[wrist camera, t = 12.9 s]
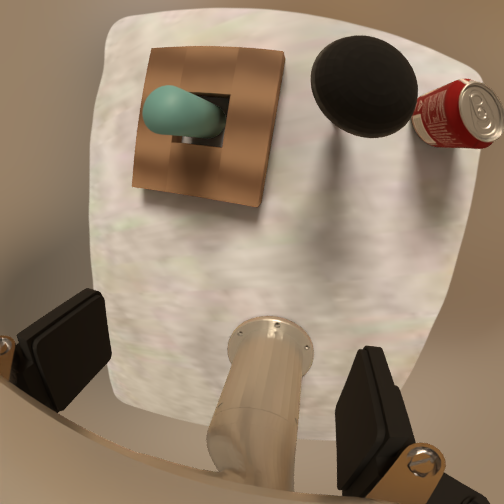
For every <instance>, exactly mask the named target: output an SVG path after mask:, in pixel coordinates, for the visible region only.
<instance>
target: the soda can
mask: <svg viewBox="0 0 504 504" xmlns="http://www.w3.org/2000/svg"><path fill="white" fill-rule="evenodd" d="M411 119H412V124H413V127H414V129H415V131H416V133H417V134H418V136H419V137H420V138H421V139H422V140H423V141H424V142H425V143H427V144H429V145H431V146H433V147H445V148H473V149H482V148H486V147H488V146H490V145H491V144H492V143H493V142H494V141H496V140H497V139H499V137H500V136H501V135H502V133H503V130H504V109H503V106H502V103H501V101H500V99H499V98H498V96H497V95H496V93H495V92H494V91H493V90H492V89H491V88H490V87H488V86H487V85H485V84H483V83H480V82H476V81H474V80H471V79H459V80H456V81H454V82H452V83H449V84H447V85H444V86H442V87H440V88H437V89H435V90H433V91H430V92H428V93H426V94H424V95H422V96H420V97H419V98H417V104H416V108H415V110H414V113H413V115H412V117H411Z"/></svg>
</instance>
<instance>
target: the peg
mask: <svg viewBox="0 0 504 504" xmlns="http://www.w3.org/2000/svg"><path fill="white" fill-rule="evenodd" d="M142 114H143V120H144V123H145V125H146V126H147V128H148V129H149V130H150V131H152V132H154V133H156V134H161V135H174V136H186V137H197V138H207V139H208V138H213V137H216V136H217V135H219V134H220V133H221V132H222V131H223V129H224V127H225V124H226V116H225V113H224V111H223V110H222V109H221V108H220V107H219V106H217V105H215V104H213V103H211V102H209V101H207V100H204V99H202V98H200V97H198V96H196V95H194V94H192V93H189V92H187V91H185V90H183V89H181V88H178V87H176V86H172V85H165V86H161V87H159V88H157V89H155V90H154V91H153V92H151V94H150V95H149V96H148V97H147V99H146V101H145V103H144V106H143V112H142Z"/></svg>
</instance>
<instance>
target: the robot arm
mask: <svg viewBox="0 0 504 504" xmlns="http://www.w3.org/2000/svg"><path fill="white" fill-rule="evenodd" d="M17 338H18V341H19V343H18V344H17V345H16V343H15V341H14V339H13V338H11V337H9V336H4V335H1V336H0V504H490V503H489V501H488V500H487V498H486V497H484V496H483V495H482V494H480V493H478V492H476V491H474V490H473V489H471V488H469V487H468V486H466V485H464V484H462V483H461V482H459V481H457V480H456V479H454V478H452V477H451V476H449V475H447V474H446V473H444V470H445V467H446V462H445V458H444V456H443V454H442V453H441V452H440V450H439V449H437V448H436V447H434V446H433V445H430V444H428V443H415V439H414V435H413V432H412V428H411V425H410V421H409V418H408V414H407V411H406V408H405V405H404V401H403V398H402V395H401V392H400V389H399V387H398V386H395V385H394V382H393V379H392V376H391V373H390V370H389V367H388V364H387V361H386V358H385V355H384V352H383V349H382V348H381V347H374V346H365V347H364V348H363V350H362V349H359V350H358V352H357V354H356V357H355V360H354V362H353V365H352V368H351V370H350V373H349V375H348V378H347V381H346V383H345V386H344V388H343V390H342V393H341V395H340V398H339V400H338V402H337V405H336V409H335V422H336V445H337V488H338V490H342V496H334V495H322V494H309V493H298V492H294V463H295V451H296V441H297V430H298V419H299V407H300V394H301V379H302V376H303V375H305V374H306V372H307V371H308V370H309V369H310V367H311V365H312V362H313V357H314V350H313V344H312V342H311V339H310V337H309V336H308V334H307V333H306V332H305V331H304V330H303V329H302V328H301V327H300V326H298V325H297V324H295V323H294V322H292V321H289V320H287V319H284V318H280V317H274V316H261V317H256V318H252V319H249V320H247V321H245V322H243V323H242V324H240V325H239V326H238V327H237V328H236V329H235V330H234V331H233V333H232V335H231V337H230V340H229V342H228V348H227V350H228V356H229V359H230V362H231V363H232V366H231V368H230V371H229V374H228V377H227V379H226V382H225V385H224V388H223V390H222V393H221V396H220V399H219V401H218V404H217V407H216V409H215V412H214V415H213V417H212V420H211V423H210V425H209V428H208V431H207V439H206V440H207V448H208V451H209V454H210V456H211V458H212V460H213V462H214V464H215V466H216V467H217V469H218V471H219V472H213V471H208V470H200V469H196V468H192V467H188V466H185V465H181V464H178V463H174V462H170V461H167V460H164V459H161V458H157V457H153V456H150V455H147V454H143V453H137V452H135V451H132V450H130V449H127V448H125V447H123V446H120V445H118V444H116V443H114V442H111V441H109V440H107V439H105V438H103V437H101V436H99V435H97V434H95V433H93V432H91V431H89V430H87V429H85V428H83V427H81V426H79V425H77V424H75V423H74V422H72V421H70V420H68V419H67V418H65V417H63V416H61V415H60V414H58V412H59V411H62V410H64V409H65V408H66V407H67V406H68V405H69V404H70V403H71V402H72V400H73V399H74V398H75V397H76V396H77V395H78V394H79V393H80V392H81V391H82V390H83V388H84V387H85V386H86V385H87V384H88V383H89V382H90V380H92V379H93V378H94V376H95V375H96V374H97V373H98V372H99V371H100V370H101V369H102V368H103V367H104V366H105V365H106V364H107V363H108V362H109V360H110V359H111V355H112V351H111V345H110V339H109V332H108V325H107V317H106V308H105V300H104V297H103V296H102V294H101V293H100V292H99V291H96V290H92V289H89V288H86V289H84V290H83V291H81V292H80V293H78V294H76V295H75V296H74V297H72V298H70V299H69V300H67V301H66V302H64V303H63V304H61V305H60V306H58V307H57V308H55V309H54V310H52V311H51V312H49V313H48V314H46V315H45V316H43V317H42V318H40V319H39V320H37V321H36V322H34V323H33V324H31V325H30V326H29V327H27V328H26V329H24V330H23V331H21V332H20V333H18V334H17Z"/></svg>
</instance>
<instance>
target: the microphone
mask: <svg viewBox="0 0 504 504" xmlns="http://www.w3.org/2000/svg"><path fill="white" fill-rule="evenodd" d="M311 88H312V92H313V96H314V98H315V101H316V103H317V105H318V106H319V108H320V110H321V111H322V112H323V114H324V115H325V116H326V117H327V118H328V119H329V120H330V121H331V122H332V123H333V124H335V125H336V126H337V127H339V128H340V129H342V130H344V131H346V132H348V133H350V134H353V135H356V136H360V137H366V138H379V137H385V136H388V135H391V134H393V133H395V132H397V131H399V130H400V129H401V128H403V127H404V126H405V125H406V124H407V122H408V121H409V120H410V118H411V117H412V115H413V113H414V110H415V108H416V104H417V97H418V85H417V80H416V76H415V73H414V71H413V68H412V67H411V65H410V64H409V62H408V60H407V59H406V58H405V57H404V56H403V55H402V53H401V52H400V51H398V50H397V49H396V48H395V47H393V46H392V45H390V44H389V43H387V42H385V41H383V40H380V39H378V38H375V37H370V36H351V37H345V38H341V39H339V40H336V41H334V42H332V43H331V44H329V45H328V46H326V47H325V48H324V49H323V50H322V51H321V52H320V53H319V55H318V56H317V58H316V60H315V62H314V64H313V67H312V71H311Z"/></svg>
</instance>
